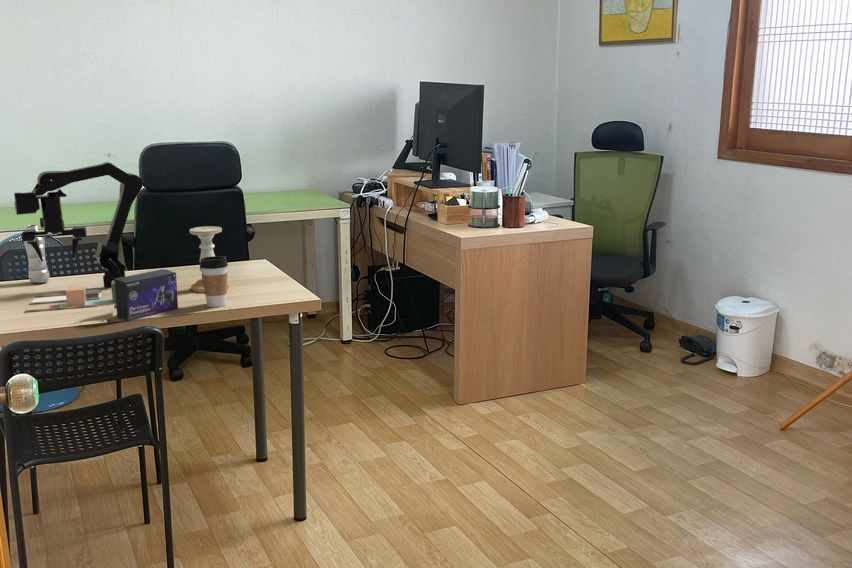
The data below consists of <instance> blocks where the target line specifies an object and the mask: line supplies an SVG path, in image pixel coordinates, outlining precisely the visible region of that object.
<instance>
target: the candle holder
mask: <svg viewBox="0 0 852 568" xmlns="http://www.w3.org/2000/svg"><path fill="white" fill-rule="evenodd" d="M222 231H223V228H222V227H221V226H214V225H213V226H212V225H211V226H210V225H209V226H206V225H205V226H197V227H193V228H192V227H191V228H189V234H190V235H195V236H197V237H198V238H199V239H200V242H201V243H200V244H199V246H198V248H199V249H200V256H199V262H200V261H201V259H202V258H205V257H212V256H216V255H215V252H214V248H215V247H216V245H215V244H214V243H213V238H214V237H215V235H216V234H219V233H222ZM199 271H200V272H201V273H202V270H201V268H200V267H199ZM229 288H230V284H229V282H228V281H227V290H228V289H229ZM190 289H191V291H192V292H194V293H200V294H201V293H202V294H205V291H204V285H203V280H202V278H200V279H198V280H196V282H194V283H192V284H191V286H190Z"/></svg>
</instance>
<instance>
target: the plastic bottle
mask: <svg viewBox="0 0 852 568" xmlns="http://www.w3.org/2000/svg"><path fill="white" fill-rule="evenodd" d="M39 226H40V225H38V224H29V225H26V230H32V229H36V231H37V232H40V228H39ZM23 244H24V247H25V251H26V254H27V260H28V280H29V281H30V283H32V282H33V283H32V284H43V283H46V282H48V281H49V280H50V272H49V268H48V265H47V261H46V250H45V249H46V246H45V245H46V240H45V237H39V244H40V248H41V252H42V256H43V261H41V259H40V258H39V256H38V254H37V252H36V250H35V249H34V248H33V246H32V245H31V244H27V241H23Z"/></svg>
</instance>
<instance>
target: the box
mask: <svg viewBox="0 0 852 568" xmlns="http://www.w3.org/2000/svg"><path fill="white" fill-rule="evenodd" d="M125 276H126V275H125ZM114 281H115V294H116V307H115V308H116V317H117V318H119V319H122V320H124V321H127V322H129V321H134V320H139V319H142V318H146V317H151V316H155V315H159V313H160V314H163V312H164V313H168V312H171V311H175V310H179V302H178V285H177V282H178V281H177V272H176V271H172V270H170V269H167V268H163V269H158V270H153V271H147V272H143V273H137V274H131V275H127V276H126V277H120V278H115V279H114Z"/></svg>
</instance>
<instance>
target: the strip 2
mask: <svg viewBox="0 0 852 568" xmlns="http://www.w3.org/2000/svg"><path fill="white" fill-rule="evenodd" d="M110 288H111V297H112V298H103V299H99V300H87V302H86V305H96V304H97V306H104V305H105V306H107V305H108V306H109V305H114V306H113V307H114V308H116V294H115V281H114V280H113V281H112V283H111V287H110ZM59 307H67V302H62V303H59V306H58V308H59Z"/></svg>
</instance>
